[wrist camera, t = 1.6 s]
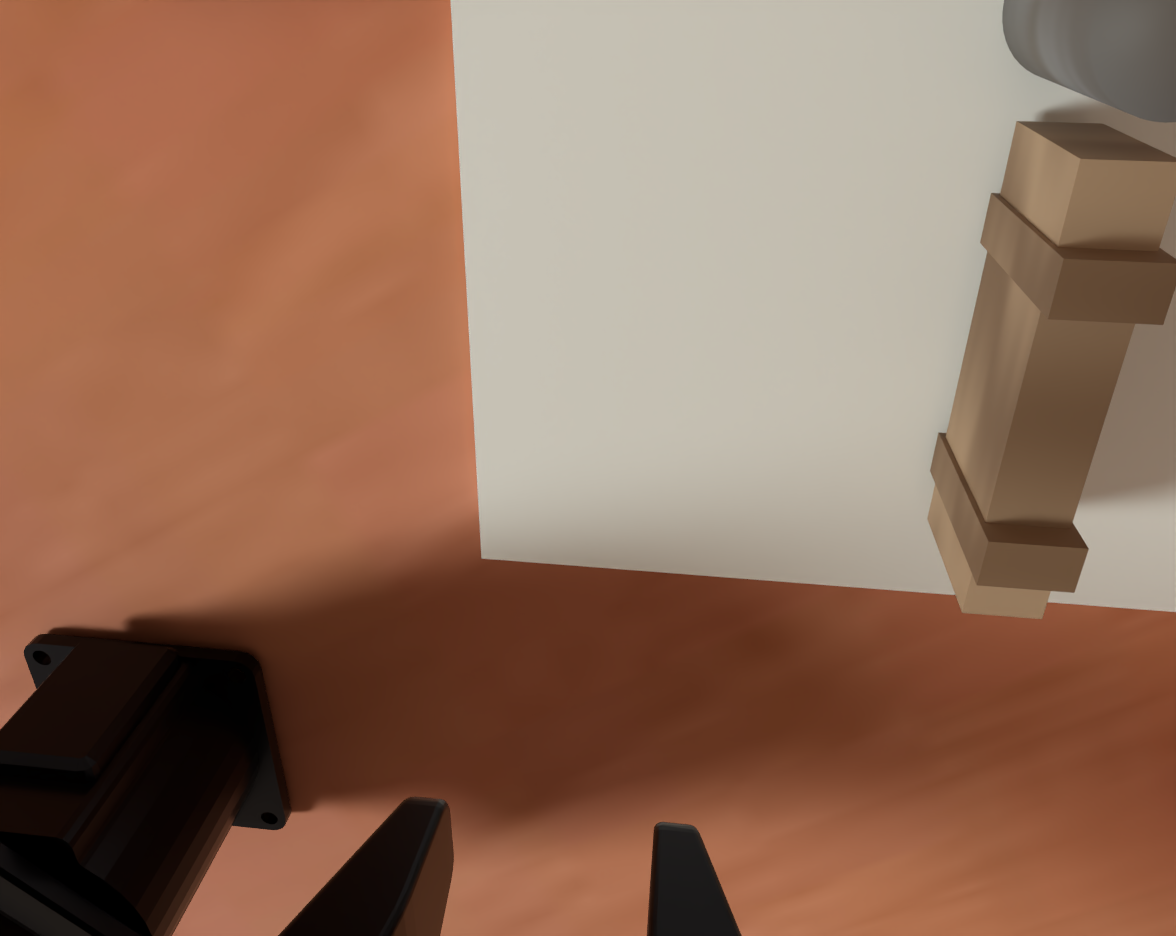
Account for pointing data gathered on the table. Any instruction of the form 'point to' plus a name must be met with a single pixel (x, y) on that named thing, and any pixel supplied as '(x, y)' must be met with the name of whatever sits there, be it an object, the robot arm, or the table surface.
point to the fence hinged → (1047, 357)
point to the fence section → (1100, 50)
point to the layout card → (759, 288)
